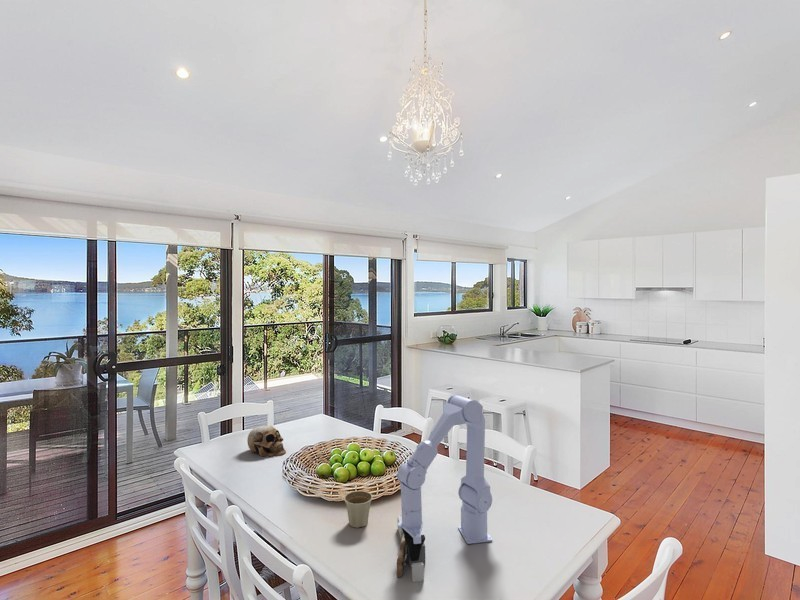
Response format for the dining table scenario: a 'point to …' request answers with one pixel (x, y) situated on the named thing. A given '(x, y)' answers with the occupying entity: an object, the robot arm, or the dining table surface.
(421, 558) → the block
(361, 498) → the flower pot
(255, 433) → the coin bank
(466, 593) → the dining table surface
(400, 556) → the door
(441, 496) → the dining table surface
